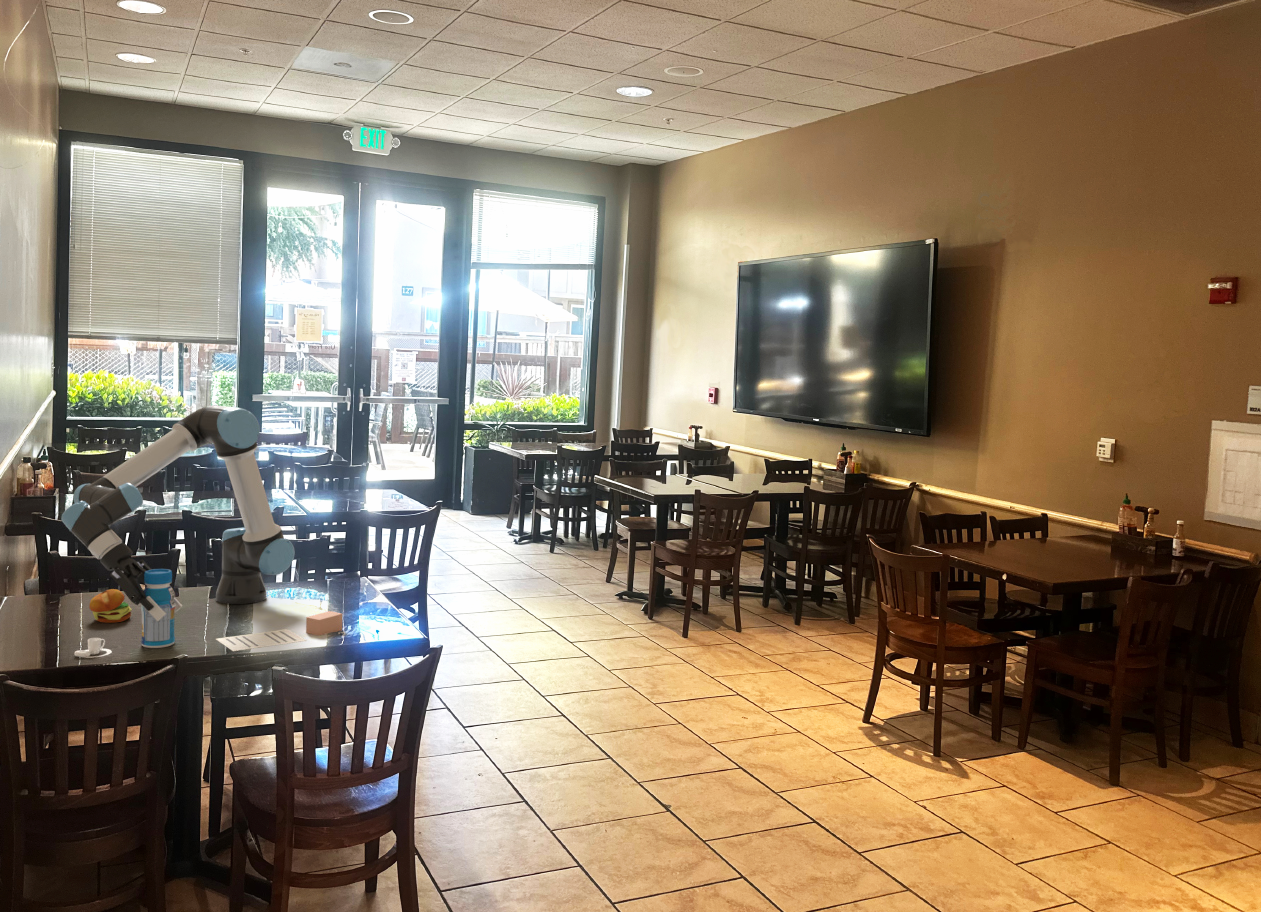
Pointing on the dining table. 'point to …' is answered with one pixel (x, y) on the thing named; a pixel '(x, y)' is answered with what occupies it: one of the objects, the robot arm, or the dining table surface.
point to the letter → (260, 640)
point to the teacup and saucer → (93, 648)
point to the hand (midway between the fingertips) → (170, 613)
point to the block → (324, 623)
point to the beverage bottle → (163, 596)
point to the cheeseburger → (110, 607)
